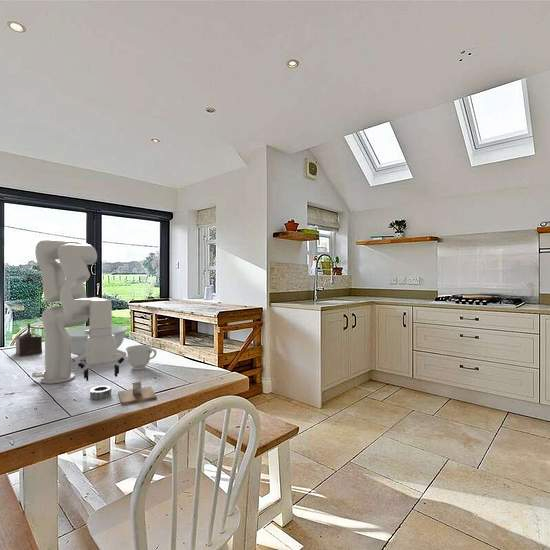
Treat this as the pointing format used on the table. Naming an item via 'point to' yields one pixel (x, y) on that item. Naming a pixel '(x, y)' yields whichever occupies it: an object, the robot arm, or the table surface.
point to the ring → (100, 392)
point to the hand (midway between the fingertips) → (101, 377)
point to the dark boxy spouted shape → (29, 343)
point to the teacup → (140, 356)
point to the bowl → (81, 338)
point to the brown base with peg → (136, 394)
